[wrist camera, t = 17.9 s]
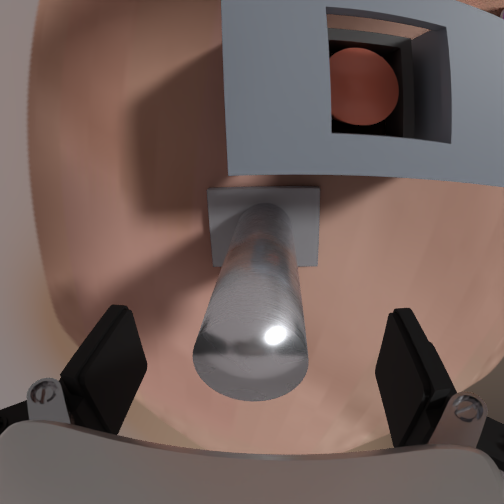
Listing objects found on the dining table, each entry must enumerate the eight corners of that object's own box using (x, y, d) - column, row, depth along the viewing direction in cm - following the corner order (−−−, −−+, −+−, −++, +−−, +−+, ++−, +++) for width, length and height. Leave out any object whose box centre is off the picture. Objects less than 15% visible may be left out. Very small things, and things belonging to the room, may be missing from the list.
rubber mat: (318, 186, 23) (320, 188, 22) (316, 261, 25) (317, 266, 24) (208, 187, 23) (206, 190, 23) (214, 262, 26) (213, 266, 25)
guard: (429, 47, 18) (506, 20, 8) (431, 158, 21) (511, 188, 12) (243, 33, 19) (220, -24, 9) (248, 152, 22) (228, 175, 13)
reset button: (381, 60, 18) (396, 52, 15) (383, 126, 19) (399, 128, 17) (312, 54, 18) (318, 44, 15) (315, 123, 20) (321, 123, 17)
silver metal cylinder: (292, 202, 23) (312, 317, 10) (291, 254, 24) (304, 401, 11) (235, 203, 23) (184, 315, 10) (238, 255, 24) (200, 398, 12)
